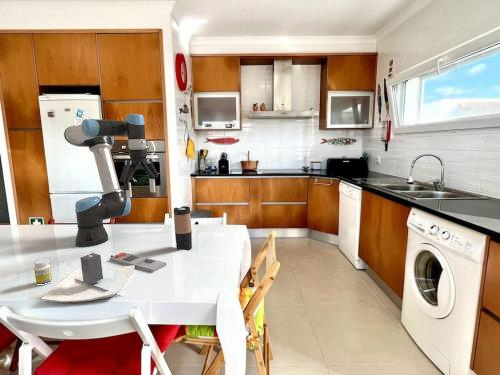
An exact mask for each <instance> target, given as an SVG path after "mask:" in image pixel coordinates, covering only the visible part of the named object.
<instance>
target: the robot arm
mask: <svg viewBox="0 0 500 375" xmlns="http://www.w3.org/2000/svg"><path fill="white" fill-rule="evenodd" d="M145 125H146V124H145V119H144V115H142V114H140V113H129V114H126V117H125V120H122V119H121V120H118V119H99V118H98V119H95V118H85V119H83V120H82V122H81V124H78V125H70V126H68V127H66V128H65V130H64V131H63V138H64V140H65V141H66V142H67V143H69V145H72V146H75V147H79V148H80V147H81V148H85V147H86V148H88V150H89V151H90V152H91V153H92V154H93V157H94V160H95V165H96V168H97V173H98V176H99V180H100V183H101V187H102V191H103V193H102V194H101V196H96V195H94V196H87V197H85V198H81V199H79V200H77V201H76V202H75V206H74V207H75V208H74V209H75V210H74V212H75V218H76V222H77V223H76V224H77V233H76V237H75V240H74V241H75V246H77V247H81V246H82V247H93V246H97V245H101V244H103V243H106V242H107V241H109V234H108V232H107V230H106V228H105V226H104V221H106V220H110V219H115V218H122V217H124V216H127V215H129V214H130V212H131V210H132V209H131V207H132V200H131V198H132V197H133V193H132V184H131V182H130V181H131V180H132V178H133V176H134V174H135V172H136V171H137V170H144V172H145V173H146V174H147V175H148V177H149V179H148V180H149V181H148V182H149V192H150V193H156V180H157V179H158V177H159V173H158V171H157V169H156V167H155V165H154V162H153V159H152V158H148V154H147V153H148V152H147V141H146V140H147V139H146V128H145ZM115 137H121V138H127V144H128V146H127V147H128V149H129V150H128V153H129V155H128V156H129V158H130V159H128V160H127V159H125V160H124V161H123V162H124V163H123V168H122V171H121V174H120V177H119V180H118V176H117V172H116V168H115V165H114V161H113V158H112V152H111V150H112V148H113V146H114V144H115V143H114V142H115ZM119 182H120V183H122V184H123V186H124V190H123V189H121V188H120V183H119ZM82 247H81V248H82Z"/></svg>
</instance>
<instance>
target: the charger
mask: <svg viewBox="0 0 500 375" xmlns="http://www.w3.org/2000/svg"><path fill="white" fill-rule="evenodd" d="M79 259H80V265H81V268H82V275H81V276H82V281H83V282H86V283H89V284H92V285H94V284H95V283H96V282H99V281H101V280H103V279H104V275H103V274H104V273H103V271H102V268H103V266H102V256H101V254H98V253H94V252H91V253H89V254H87V255H86V254H85V255H83V256H81V257H80V258H79Z"/></svg>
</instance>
